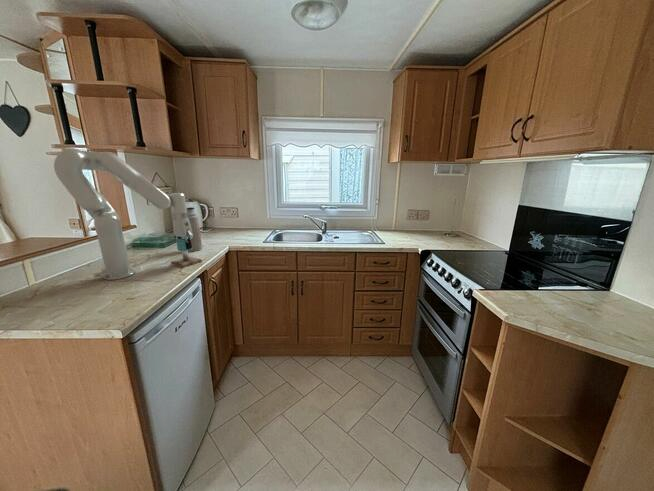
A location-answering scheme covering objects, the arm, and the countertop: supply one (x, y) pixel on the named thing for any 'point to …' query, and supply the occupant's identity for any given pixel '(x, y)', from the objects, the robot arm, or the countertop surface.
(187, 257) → the post
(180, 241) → the teal block
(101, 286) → the countertop surface
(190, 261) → the post board
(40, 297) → the countertop surface
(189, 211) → the thermos bottle
